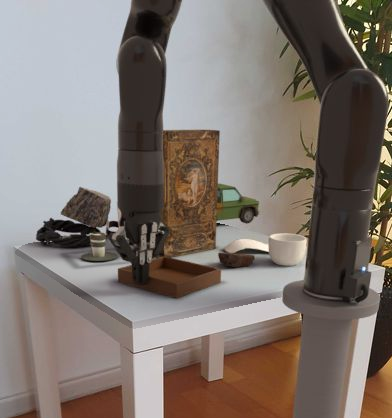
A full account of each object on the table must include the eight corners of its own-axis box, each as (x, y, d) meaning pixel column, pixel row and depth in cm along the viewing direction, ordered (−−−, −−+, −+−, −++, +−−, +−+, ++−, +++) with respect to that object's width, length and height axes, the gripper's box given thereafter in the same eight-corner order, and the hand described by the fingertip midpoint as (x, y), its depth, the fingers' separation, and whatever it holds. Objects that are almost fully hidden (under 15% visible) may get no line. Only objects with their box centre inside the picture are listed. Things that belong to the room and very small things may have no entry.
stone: (212, 265, 112) (212, 250, 111) (232, 259, 118) (233, 244, 116) (238, 272, 109) (240, 256, 107) (258, 265, 114) (260, 250, 113)
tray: (220, 282, 102) (221, 269, 101) (176, 298, 93) (176, 283, 92) (163, 268, 110) (163, 256, 109) (118, 281, 101) (117, 268, 100)
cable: (53, 231, 139) (52, 213, 138) (108, 234, 139) (107, 216, 137) (31, 246, 123) (29, 227, 122) (93, 249, 123) (92, 229, 121)
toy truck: (261, 223, 154) (263, 185, 150) (195, 230, 144) (195, 191, 140) (239, 216, 163) (240, 180, 159) (174, 223, 153) (174, 185, 149)
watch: (107, 230, 141) (104, 216, 139) (125, 227, 141) (123, 214, 139) (105, 241, 134) (102, 227, 132) (124, 238, 134) (121, 224, 132)
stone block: (69, 181, 123) (56, 213, 125) (106, 199, 124) (93, 231, 126) (85, 185, 137) (74, 214, 139) (118, 201, 138) (106, 229, 139)
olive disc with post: (135, 260, 114) (134, 236, 112) (77, 266, 109) (75, 241, 107) (116, 248, 124) (116, 225, 122) (63, 252, 119) (61, 229, 117)
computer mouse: (276, 257, 120) (276, 244, 119) (221, 255, 123) (221, 243, 121) (279, 247, 128) (280, 235, 127) (228, 246, 130) (228, 234, 129)
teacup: (308, 268, 112) (311, 241, 110) (271, 268, 112) (273, 241, 109) (296, 256, 121) (299, 231, 119) (262, 255, 121) (263, 231, 119)
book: (202, 243, 131) (205, 129, 121) (219, 247, 127) (223, 130, 117) (147, 253, 120) (145, 130, 110) (163, 258, 117) (163, 131, 107)
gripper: (128, 185, 81) (129, 297, 88) (185, 179, 91) (182, 281, 98) (93, 180, 86) (97, 287, 92) (151, 175, 95) (150, 272, 102)
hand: (140, 284), depth 95 cm, fingers closed
